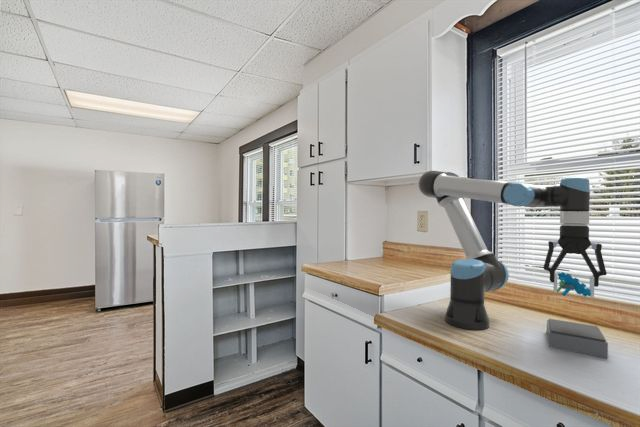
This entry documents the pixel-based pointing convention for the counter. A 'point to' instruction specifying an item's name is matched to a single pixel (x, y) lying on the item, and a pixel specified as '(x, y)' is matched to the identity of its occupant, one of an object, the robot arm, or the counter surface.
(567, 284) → the teal branching figurine
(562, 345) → the stand
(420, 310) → the counter surface
